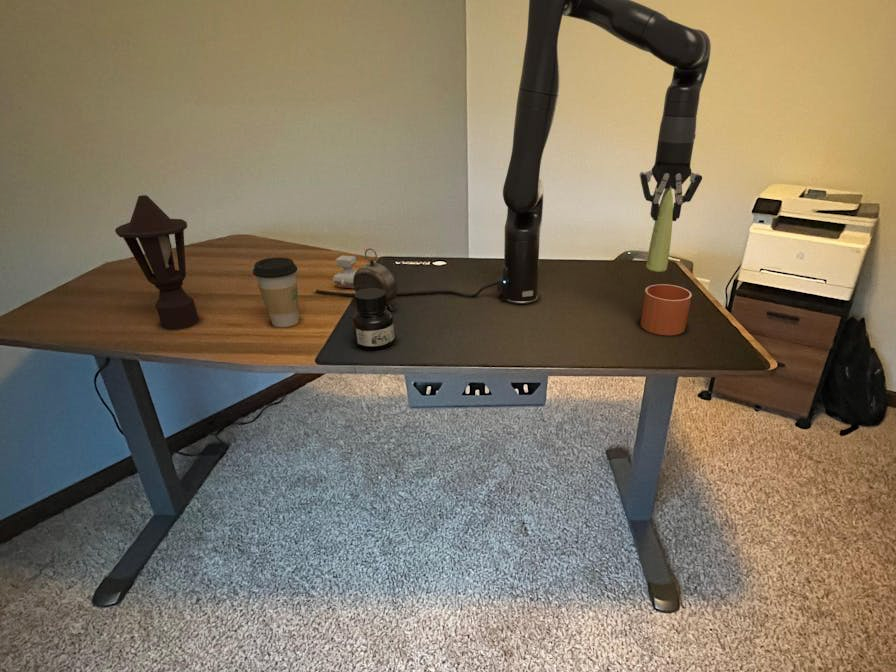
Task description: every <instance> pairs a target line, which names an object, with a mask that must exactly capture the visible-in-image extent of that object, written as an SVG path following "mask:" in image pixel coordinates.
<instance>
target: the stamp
mask: <svg viewBox="0 0 896 672" xmlns="http://www.w3.org/2000/svg"><path fill="white" fill-rule="evenodd" d="M335 262H336V265H337V266H338V267H339V268H342V270H341V271H339V272H338V273H336V274H335V275H334V276H333V277H332V281H333V282H334V283H335V284H336V285H337V286H338V287H339V288H346V289H354V285H353V278H354V275H355V273H356V271H357V270H358V269H357V270H355V269H354V268H353V266H355V265H356V264H357V258H356V256H353V255H343V254H342V255H340V256H339V257H337V258H336V259H335Z"/></svg>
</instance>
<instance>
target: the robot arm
mask: <svg viewBox="0 0 896 672" xmlns="http://www.w3.org/2000/svg"><path fill="white" fill-rule="evenodd" d="M563 16H564V17H569V18H573V19H578V20H580V21H581V20H582V21H585V22H588V23H590V24H593V25H595V26H597V27H599V28H601V29H602V30H603V31H605V32H607V33H609V34H610V35H611V36H613V37H615V38H616V39H618V40H620V41H622V42H624V43H626V44H628V45H630V46H632V47H634V48H636V49H638V50H641V51H643V52H646V53H648V54H651V55H653V56H654V57H656V58H657V59H659V60H660V61H662V62H663V63H665V64H666V65H669V66H671V67H673V73H672V77H671V82H670V84H669V85H668V87H667V88H666V92H665V96H664V102H663V109H662V115H661V121H660V124H659V130H658V136H657V137H658V138H657V144H656V152H655V158H654V159H655V160H654V164H653V166H652V168H651V170H649V171H645V172H644V171H641V172H640V173H639V180H640V185H641V189H642V193H643V197H644V199H645V201H646V202H650V203H651V207H650V213H649V215H650V217H651V219H652V220H653V221H654V222H655V221H657V217H658V210H659V205H660V201H661V198H662V196H663V193H664V191H665V189H667V188H670V186H671V188H672V190H673V192H674V201H675V202H673V217H672V222H676V221H677V220H678V219H679V218H680V217H681V211H682V206H683V204H684V203H690V202H692V199H693V197H694V196H695V193H696V192H697V189H698V188H699V186H700V185H701V182H702V180H703V176H702V175H701V174H700V173H698V172H697V173H696V172H693V171H692V168H691V164H692V163H691V162H692V157H693V156H692V155H693V150H694V144H695V139H696V136H697V135H696V132H697V118H698V112H699V106H700V98H701V91H702V88H703V85H704V81H705V77H706V75H707V72H708V71H707V70H708V68H709V63H710V58H711V49H712V46H711V44H712V43H711V39H710V37H709V35H708V34H707V33H706V32H705V31H703V30H701V29H698V28H697V29H696V28H693V27H690V26H686V25H684V24H682V23H678V22H676V21H674V20H671V19H669V18H668V17H667V16H666V15H664V14H663V13H661V12H659V11H657V10H655V9H652V8H651V7H648V6H646V5H644V4H642V3H638V2H636V1H634V0H528V16H527V30H526V32H527V33H526V41H525V46H524V47H525V48H524V53H523V61H522V68H521V75H520V81H519V86H518V92H517V99H516V107H515V117H514V123H513V124H514V125H513V135H512V137H513V138H512V148H511V155H510V160H509V163H508V166H507V167H508V168H507V171H506V175H505V178H504V179H505V180H504V184H503V187H502V198H503V202H504V204H505V206H506V207H507V213H506V220H505V225H504V241H503V243H504V252H503V253H504V254H503V256H504V257H503V271H502V272H503V274H498V277H497V281H495V282H492V283H489V284H486V285H484V286H482V287H480V288H479V290H478V291H476V292H475V293H473V294H466V293H462V292H458V291H455V290H449V289H448V290H447V289H446V290H445V289H439V290H438V289H437V290H422V291H421V290H418V291H406V292H405V291H403V292H397V293H396V296H409V295H427V294H428V295H429V294H452V295H453V294H454V295H457V296H459V297H460V296H461V297H466V298H475V297H477V296H478V295H479V294H481V292H482V291H484V290H486V289H488V288H492V287H494V286H496V287H497V292H502V302H505V303H509V304H514V305H529V304H532V303H535V302H537V301H538V294H539V293H538V292H539V291H538V289H539V288H538V286H539V268H540V267H539V266H540V265H539V264H540V263H539V262H540V243H541V242H540V241H541V240H540V239H541V227H542V222H543V211H544V210H543V208H544V184H543V180H542V179H541V177H540V173H541V166H542V160H543V155H544V151H545V149H546V145H547V142H548V140H549V137H550V133H551V131H552V127H553V124H554V120H555V117H556V113H557V108H558V101H559V97H560V96H559V95H560V88H561V73H560V63H559V49H558V47H559V46H558V44H559V35H560V29H561V24H562V20H563ZM652 177H653V178H654V181H655V182H656V185H655V187H654V191H653V194H651V190H650V186H649V183H650V182H651V180H652V179H651V178H652ZM688 178H689V182H690V183H689V185H688V187H687V189H686V191H685V193H684V195H683V184H684V183H685V182H686V181H687V180H688ZM315 293H316V294H317V293H319V294H325V295H333V296H344V297H345V296H346V297H354V294H355V293H356V292H352V293H351V292H339V291H329V290H321V289H316V290H315Z"/></svg>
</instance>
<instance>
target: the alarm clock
mask: <svg viewBox="0 0 896 672" xmlns="http://www.w3.org/2000/svg"><path fill="white" fill-rule="evenodd" d="M368 251H372V252H373V253H374V255H375V258H374V259H373V258H371V259H369V258H368V256H367V252H368ZM364 256H365V258H366V260H368V261H369V263H367V264H366V265H364V266H362V267H360V268H358V269H357V271H356V273H355V275H354V278H353V285H354V288H353V289H354V291H355V292H354V293H356V292H357V291H359V290H362V289H367V288H377V289H381V290H384V291H385V292H386V302H387V305H386V306H387V308H389V309H390V312H394V309H393V306H391V304H390V303H391V302H393V300H394V299H395V298H396V296H397V295H396V293H398V286H397V281H396V278H395V276H394V275H393V273H392V272H391V270H390V269H388V268H387V267H386V266H385V265H383V264H381V263H378V262H375V261H376V260H377V258H378V255H377V252H376V250H375V249H373V248H372V247H371V248H370V247H369V248H367V249H366V250H365V251H364Z"/></svg>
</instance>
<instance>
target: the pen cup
mask: <svg viewBox="0 0 896 672" xmlns="http://www.w3.org/2000/svg"><path fill="white" fill-rule="evenodd" d="M643 295H644V296H643V299H642V300H643V302H642V308H641V315H640V323H639V324H640V327H641V328H642V329H643V330H645V331H646V332H649V333H650V334H655V335H659V336H677V335H680V334H682V333H684V332H685V331H686V328H687V323H688V319H689V312H690V307H691V302H692V296H693V294H692V292H691V291H690V290H689V289H687V288H685V287H682V286H678V285H674V284H667V283H665V284H664V283H660V284H659V283H658V284H652V285H649V286H647V287H645V289H644V294H643Z"/></svg>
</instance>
